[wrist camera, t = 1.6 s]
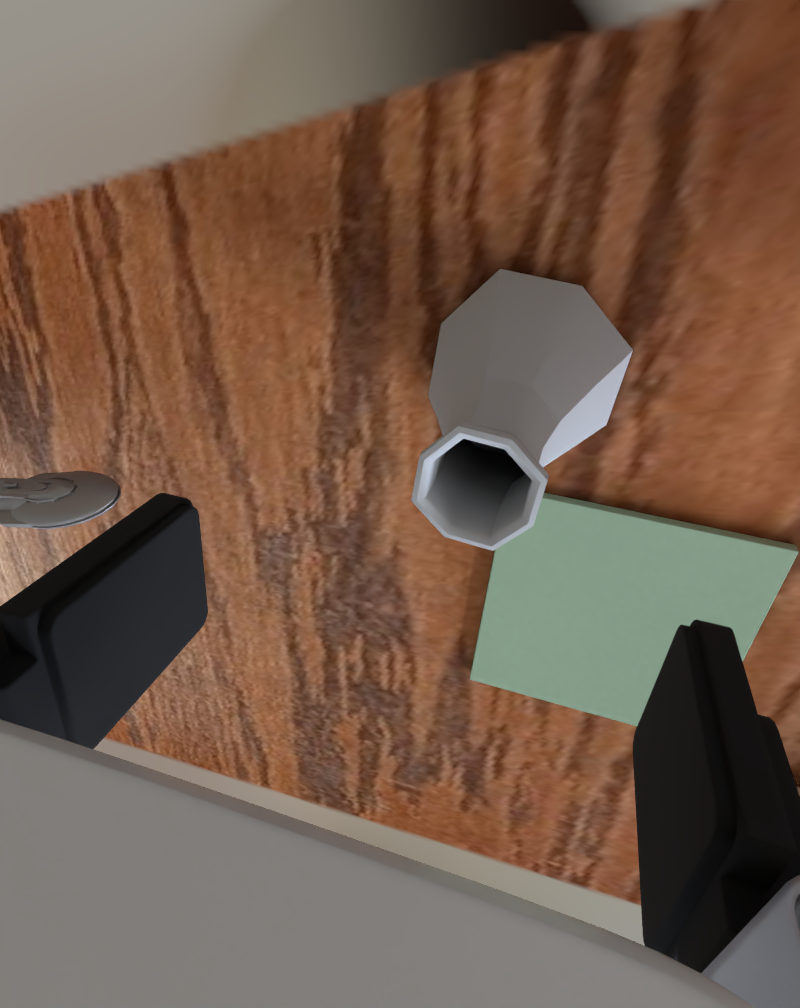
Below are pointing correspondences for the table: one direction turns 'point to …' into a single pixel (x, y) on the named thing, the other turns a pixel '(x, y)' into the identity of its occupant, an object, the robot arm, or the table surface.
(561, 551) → the coaster
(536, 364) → the flask
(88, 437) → the table surface
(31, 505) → the spaceship
